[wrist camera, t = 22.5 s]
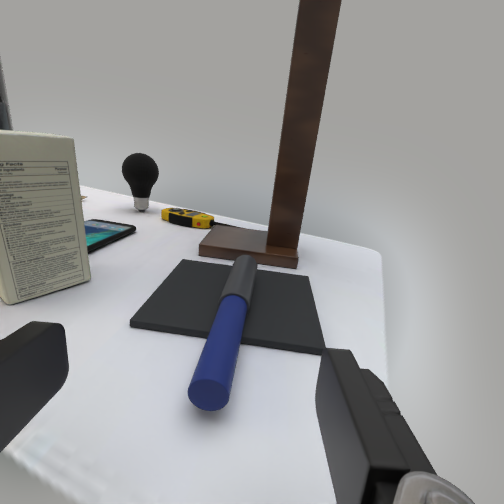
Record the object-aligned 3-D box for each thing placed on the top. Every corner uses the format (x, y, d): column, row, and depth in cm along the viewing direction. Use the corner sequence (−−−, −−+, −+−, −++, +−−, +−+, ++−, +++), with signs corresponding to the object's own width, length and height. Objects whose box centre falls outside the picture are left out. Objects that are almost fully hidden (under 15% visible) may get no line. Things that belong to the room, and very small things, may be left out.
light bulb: (138, 206, 54) (137, 151, 51) (165, 211, 53) (165, 155, 49) (116, 211, 49) (112, 150, 45) (144, 217, 47) (143, 155, 44)
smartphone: (138, 225, 40) (49, 263, 26) (138, 230, 40) (50, 271, 26) (92, 218, 41) (-18, 251, 27) (93, 223, 41) (-16, 258, 27)
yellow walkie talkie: (173, 204, 50) (251, 220, 46) (173, 215, 51) (250, 231, 46) (155, 208, 46) (239, 226, 41) (156, 220, 47) (238, 238, 42)
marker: (228, 419, 14) (237, 381, 13) (180, 408, 14) (186, 370, 13) (254, 278, 29) (259, 257, 28) (232, 273, 29) (235, 252, 28)
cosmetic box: (70, 266, 28) (54, 133, 24) (93, 281, 26) (79, 137, 21) (-16, 287, 23) (-57, 122, 19) (2, 308, 21) (-39, 126, 16)
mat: (129, 326, 20) (129, 319, 20) (182, 263, 31) (182, 258, 31) (324, 355, 20) (326, 349, 19) (307, 281, 31) (308, 276, 31)
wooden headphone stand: (196, 258, 33) (213, -116, 22) (214, 233, 43) (233, -34, 32) (297, 272, 33) (366, -104, 22) (292, 244, 43) (338, -24, 32)
